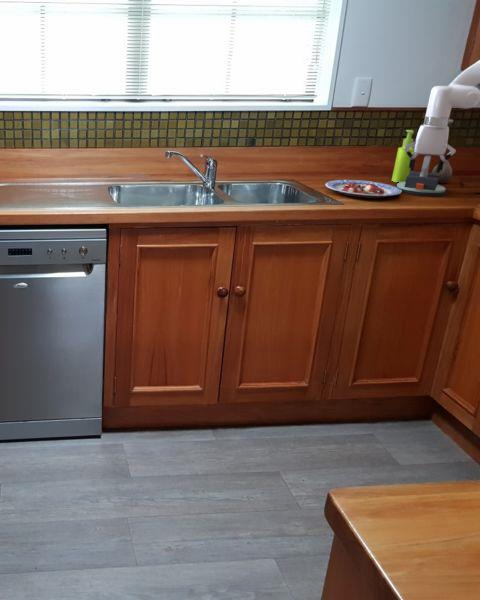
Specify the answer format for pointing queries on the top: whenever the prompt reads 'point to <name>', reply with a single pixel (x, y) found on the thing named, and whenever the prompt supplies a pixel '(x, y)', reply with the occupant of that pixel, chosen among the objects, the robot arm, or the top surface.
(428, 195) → the turntable base
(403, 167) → the soap dispenser
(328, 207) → the top surface
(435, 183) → the dish rack
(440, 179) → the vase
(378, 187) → the ceramic plate
